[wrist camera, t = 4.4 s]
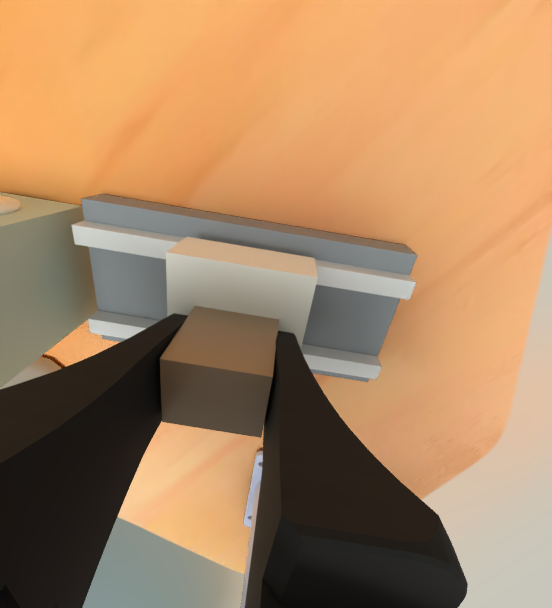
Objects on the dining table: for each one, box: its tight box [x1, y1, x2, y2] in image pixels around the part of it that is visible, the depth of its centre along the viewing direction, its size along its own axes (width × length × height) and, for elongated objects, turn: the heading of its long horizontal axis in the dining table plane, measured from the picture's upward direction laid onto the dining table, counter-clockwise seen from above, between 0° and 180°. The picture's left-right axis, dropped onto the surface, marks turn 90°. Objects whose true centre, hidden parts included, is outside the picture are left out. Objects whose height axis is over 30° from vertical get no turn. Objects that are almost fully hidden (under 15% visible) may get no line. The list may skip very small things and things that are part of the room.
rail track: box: [72, 194, 417, 382], centre depth 14 cm, size 7×14×2 cm, turn 81°
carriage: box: [160, 237, 318, 437], centre depth 10 cm, size 6×5×5 cm
